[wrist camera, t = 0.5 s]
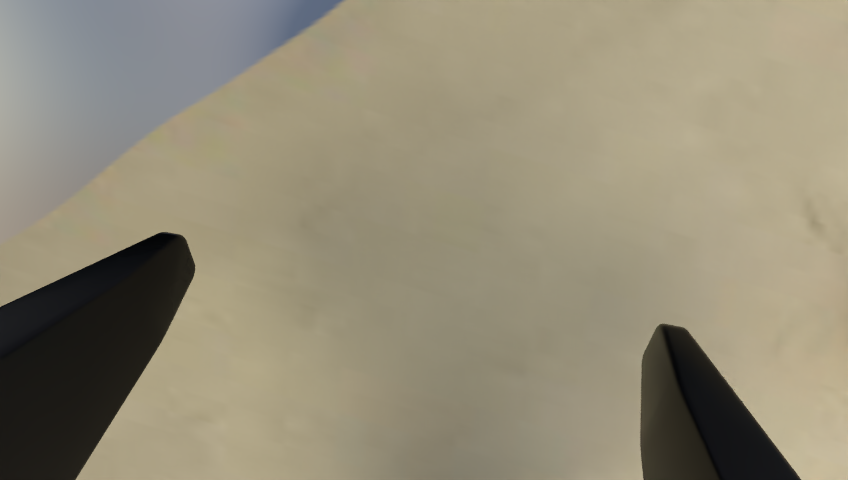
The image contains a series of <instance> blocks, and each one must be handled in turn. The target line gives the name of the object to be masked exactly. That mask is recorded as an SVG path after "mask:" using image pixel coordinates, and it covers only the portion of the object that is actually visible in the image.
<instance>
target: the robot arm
mask: <svg viewBox="0 0 848 480" xmlns="http://www.w3.org/2000/svg"><path fill="white" fill-rule="evenodd" d="M194 273H195V264H194V261H193V258H192V255H191V252H190V249H189V247H188V244H187V241H186V239H185V238H184V237H183V236H182V235H179V234H174V233H168V232H161V233H158V234H156V235H154V236H152V237H150V238H147V239H145V240H143V241H141V242H139V243H137V244H135V245H132V246H130V247H128V248H126V249H124V250H122V251H120V252H117V253H115V254H113V255H111V256H109V257H107V258H104V259H102V260H100V261H98V262H96V263H94V264H92V265H89V266H87V267H85V268H83V269H81V270H79V271H77V272H74V273H72V274H70V275H68V276H66V277H64V278H62V279H59V280H57V281H55V282H53V283H51V284H49V285H46V286H44V287H42V288H40V289H38V290H36V291H34V292H31V293H29V294H27V295H25V296H23V297H21V298H19V299H16V300H14V301H12V302H10V303H8V304H6V305H4V306H1V307H0V480H76V478H77V476H78V475H79V473H80V472H81V470H82V468H83V467H84V465H85V464H86V462H87V460H88V459H89V457H90V456H91V454H92V452H93V451H94V449H95V448H96V446H97V444H98V443H99V441H100V440H101V438H102V436H103V435H104V433H105V432H106V430H107V428H108V427H109V425H110V424H111V422H112V420H113V419H114V417H115V416H116V414H117V412H118V411H119V409H120V408H121V406H122V404H123V403H124V401H125V400H126V398H127V396H128V395H129V393H130V392H131V390H132V388H133V387H134V385H135V384H136V382H137V380H138V379H139V377H140V376H141V374H142V372H143V371H144V369H145V368H146V366H147V364H148V363H149V361H150V360H151V358H152V356H153V355H154V353H155V352H156V350H157V348H158V347H159V345H160V343H161V342H162V340H163V338H164V336H165V334H166V332H167V330H168V328H169V326H170V324H171V322H172V320H173V318H174V316H175V314H176V312H177V310H178V308H179V306H180V304H181V301H182V299H183V297H184V295H185V293H186V291H187V289H188V287H189V285H190V283H191V281H192V279H193V276H194ZM640 446H641V459H642V469H643V478H644V480H801V479H800V477H799V476H798V475H797V473H796V472H795V471H794V470H793V468H792V467H791V466H790V464H789V463H788V462H787V460H786V459H785V458H784V456H783V455H782V454H781V452H780V451H779V450H778V449H777V447H776V446H775V445H774V443H773V442H772V441H771V439H770V438H769V437H768V435H767V434H766V433H765V431H764V430H763V429H762V428H761V426H760V425H759V424H758V422H757V421H756V420H755V418H754V417H753V416H752V414H751V413H750V412H749V410H748V409H747V408H746V406H745V405H744V404H743V403H742V401H741V400H740V399H739V397H738V396H737V395H736V393H735V392H734V391H733V389H732V388H731V387H730V385H729V384H728V383H727V382H726V380H725V379H724V378H723V376H722V375H721V374H720V372H719V371H718V370H717V368H716V367H715V366H714V364H713V363H712V362H711V361H710V359H709V358H708V357H707V355H706V354H705V353H704V351H703V350H702V349H701V347H700V346H699V345H698V343H697V342H696V341H695V340H694V338H693V337H692V336H691V334H690V333H689V332H688V331H687V330H686V329H685V328H683V327H679V326H673V325H668V324H660V325H659V326H658V327H657V328H656V330H655V332H654V334H653V336H652V338H651V340H650V342H649V344H648V346H647V348H646V350H645V352H644V355H643V359H642V378H641V430H640Z"/></svg>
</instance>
